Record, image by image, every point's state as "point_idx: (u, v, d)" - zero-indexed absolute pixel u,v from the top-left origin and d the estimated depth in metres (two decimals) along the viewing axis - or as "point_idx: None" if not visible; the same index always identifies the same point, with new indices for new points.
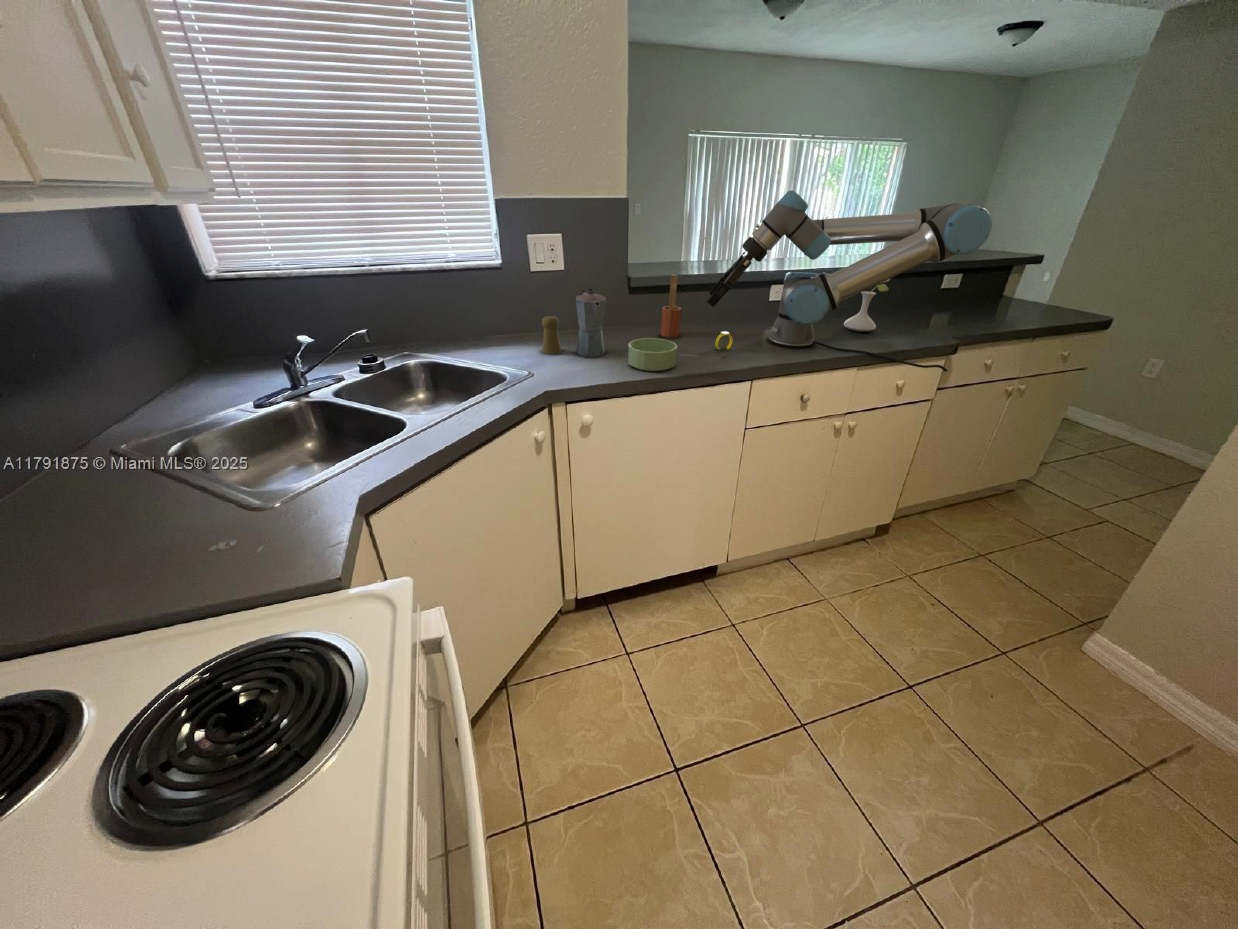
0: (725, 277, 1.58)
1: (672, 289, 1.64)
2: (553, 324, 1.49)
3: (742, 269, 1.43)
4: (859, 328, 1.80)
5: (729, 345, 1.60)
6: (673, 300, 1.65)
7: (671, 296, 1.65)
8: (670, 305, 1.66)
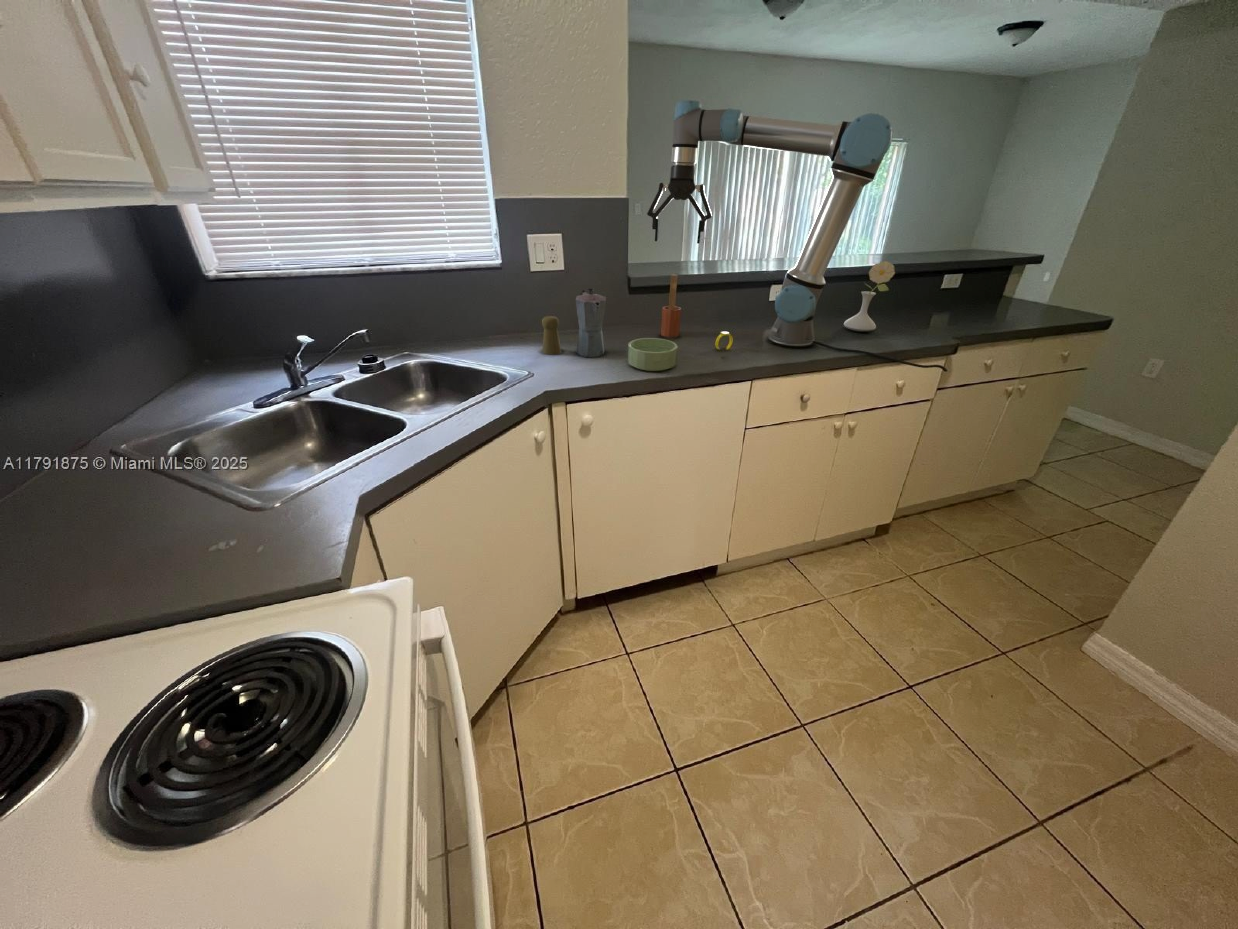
0: None
1: (672, 289, 1.64)
2: (553, 324, 1.49)
3: (657, 193, 1.51)
4: (859, 328, 1.80)
5: (729, 345, 1.60)
6: (673, 300, 1.65)
7: (671, 296, 1.65)
8: (670, 305, 1.66)
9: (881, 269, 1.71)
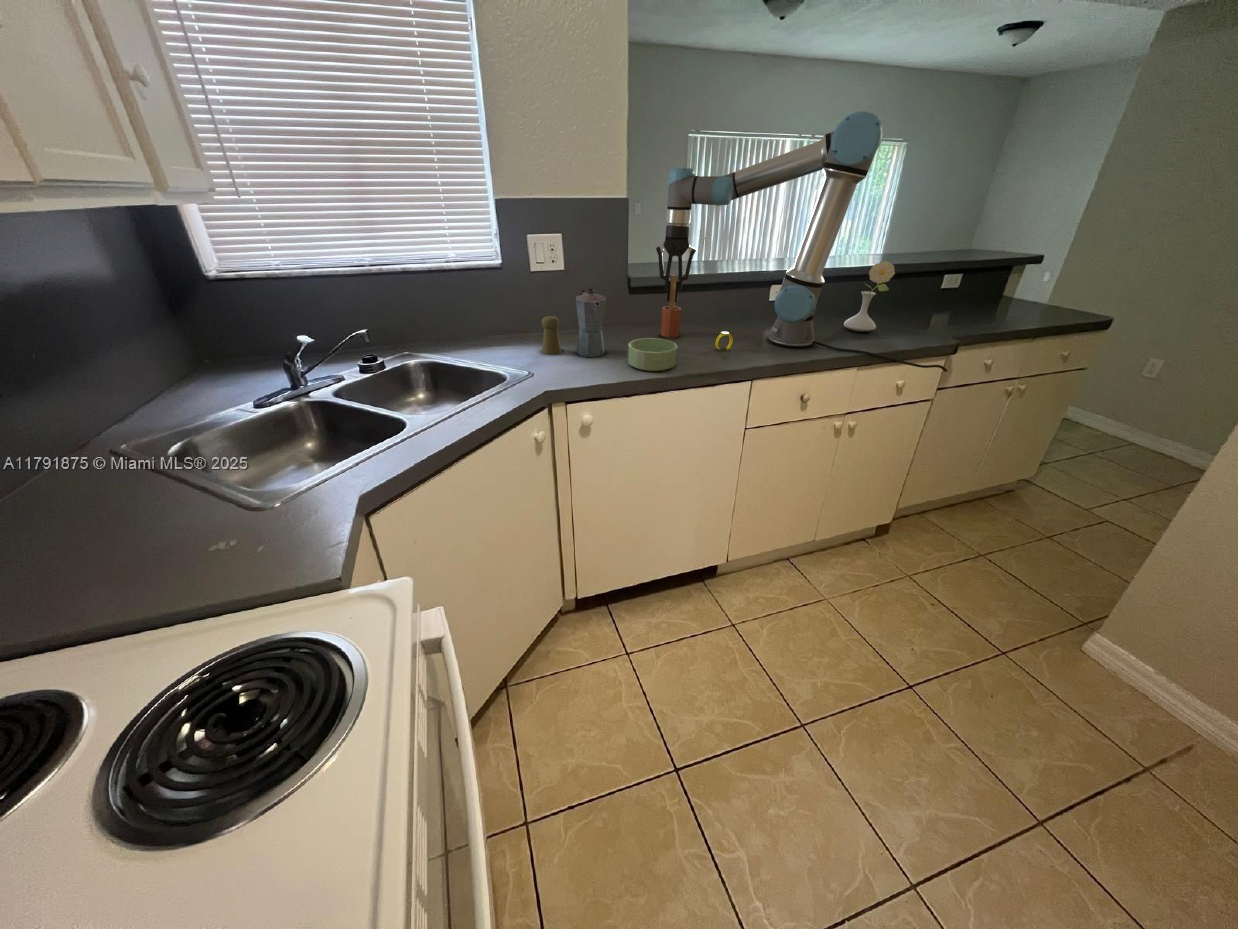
0: None
1: (672, 289, 1.64)
2: (553, 324, 1.49)
3: None
4: (859, 328, 1.80)
5: (729, 345, 1.60)
6: (673, 300, 1.65)
7: (671, 296, 1.65)
8: (670, 305, 1.66)
9: (881, 269, 1.71)
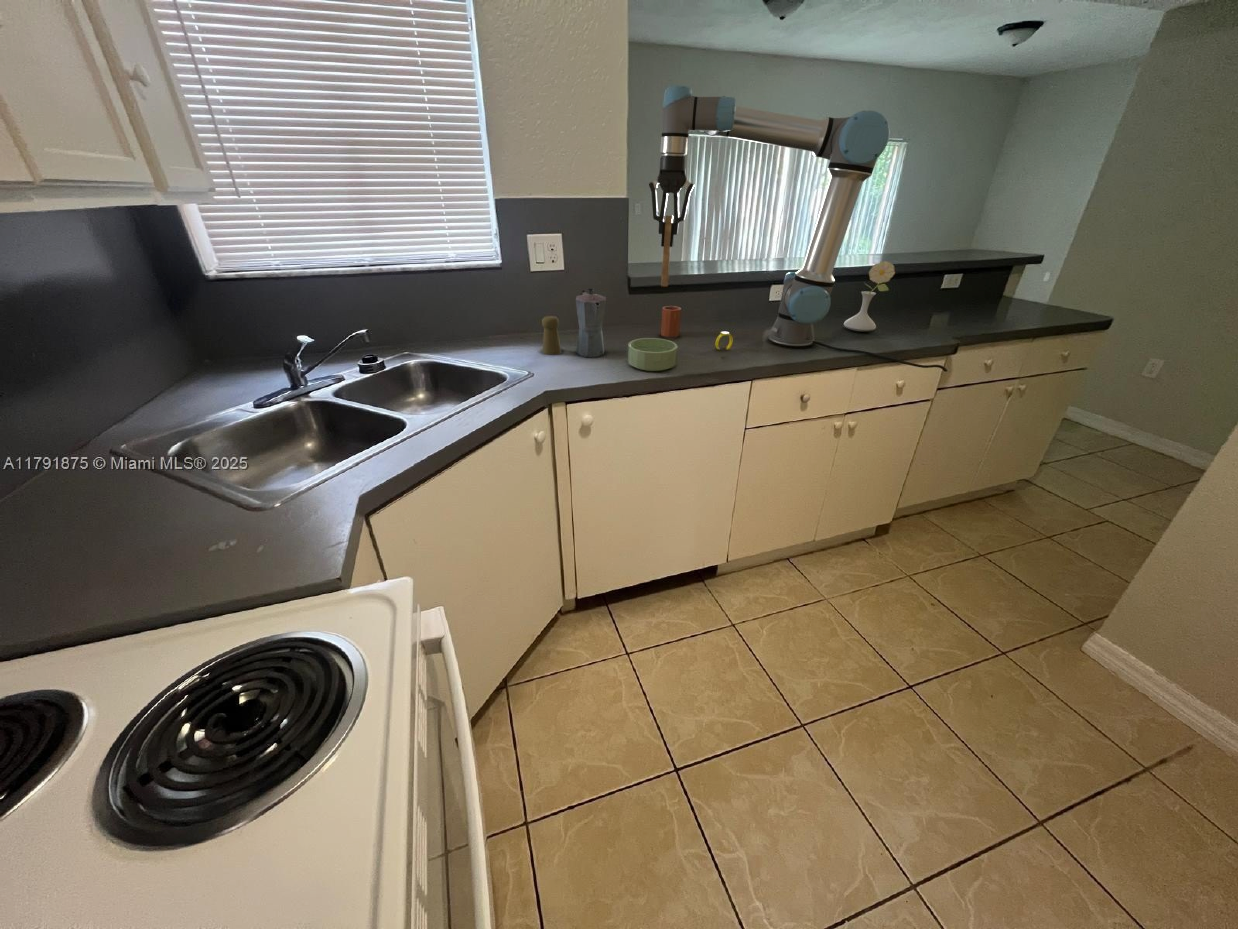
0: None
1: (667, 232, 1.46)
2: (553, 324, 1.49)
3: (652, 194, 1.43)
4: (859, 328, 1.80)
5: (729, 345, 1.60)
6: (668, 245, 1.48)
7: (666, 240, 1.48)
8: (664, 251, 1.49)
9: (881, 269, 1.71)
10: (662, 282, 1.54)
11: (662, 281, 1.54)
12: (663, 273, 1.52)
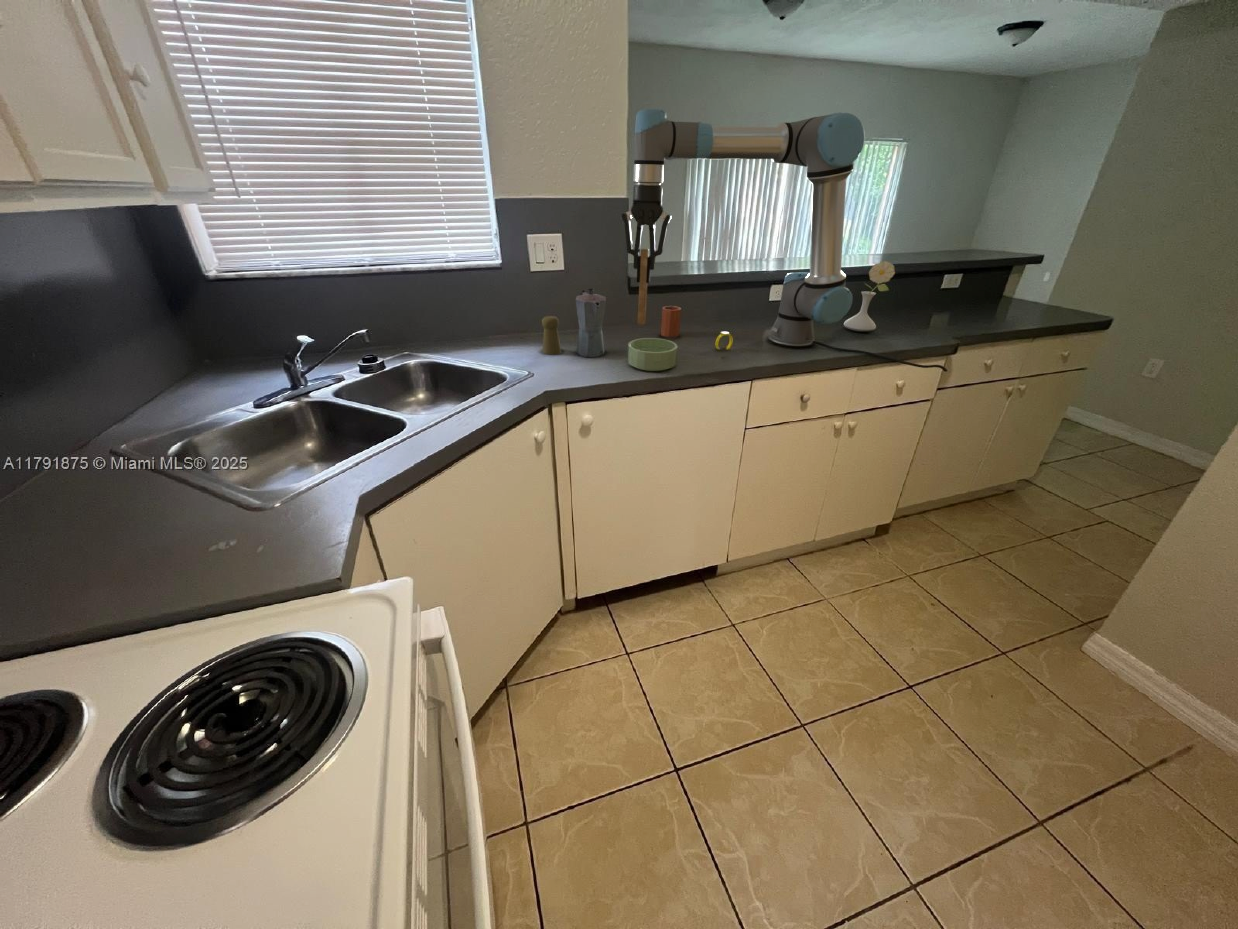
0: None
1: (643, 267, 1.33)
2: (553, 324, 1.49)
3: (625, 226, 1.29)
4: (859, 328, 1.80)
5: (729, 345, 1.60)
6: (644, 281, 1.34)
7: (642, 276, 1.34)
8: (641, 287, 1.35)
9: (881, 269, 1.71)
10: (639, 320, 1.40)
11: (639, 319, 1.40)
12: (640, 310, 1.39)
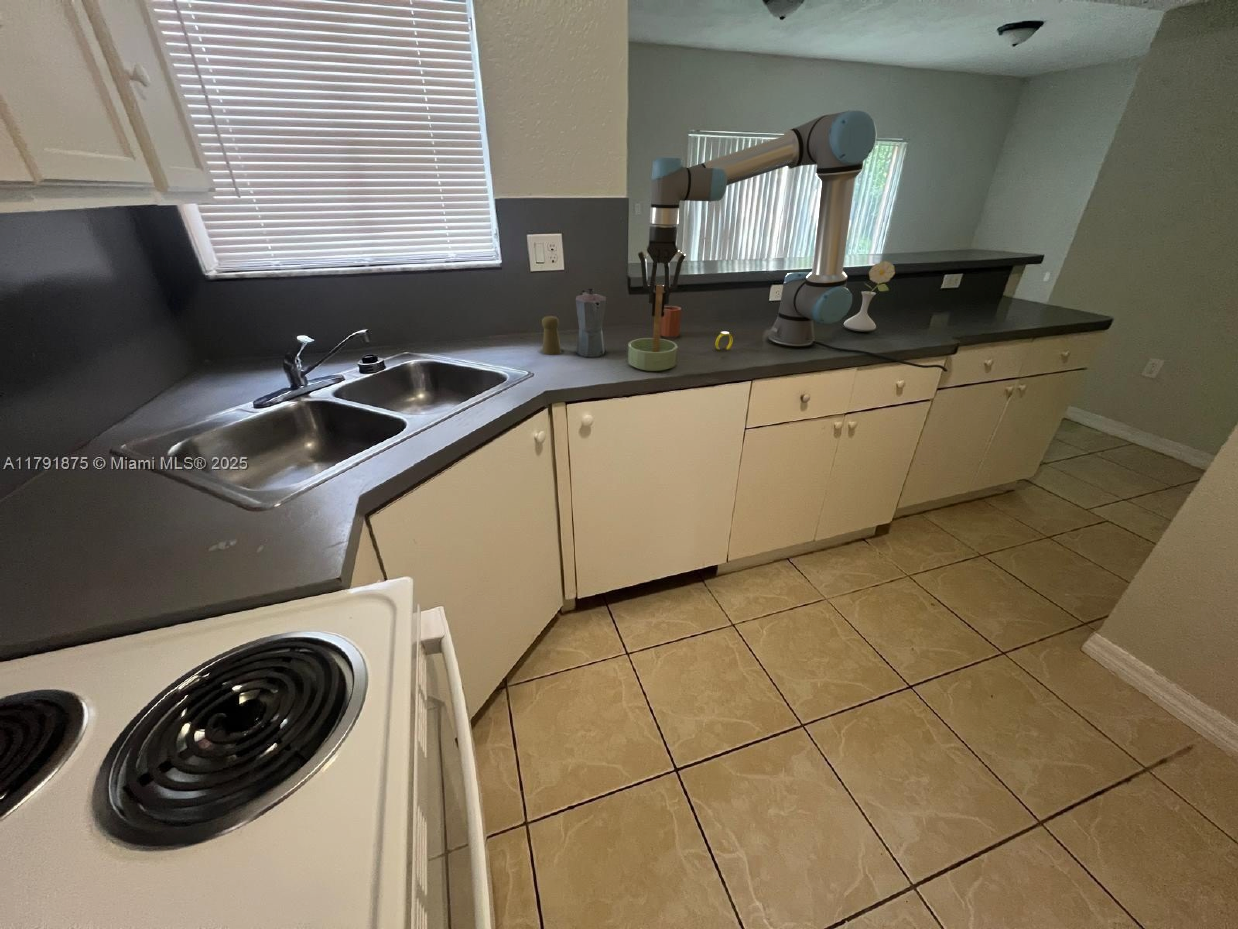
0: None
1: (658, 302, 1.39)
2: (553, 324, 1.49)
3: None
4: (859, 328, 1.80)
5: (729, 345, 1.60)
6: (659, 314, 1.41)
7: (657, 310, 1.40)
8: (655, 320, 1.42)
9: (881, 269, 1.71)
10: (653, 351, 1.46)
11: (653, 350, 1.46)
12: (654, 342, 1.45)
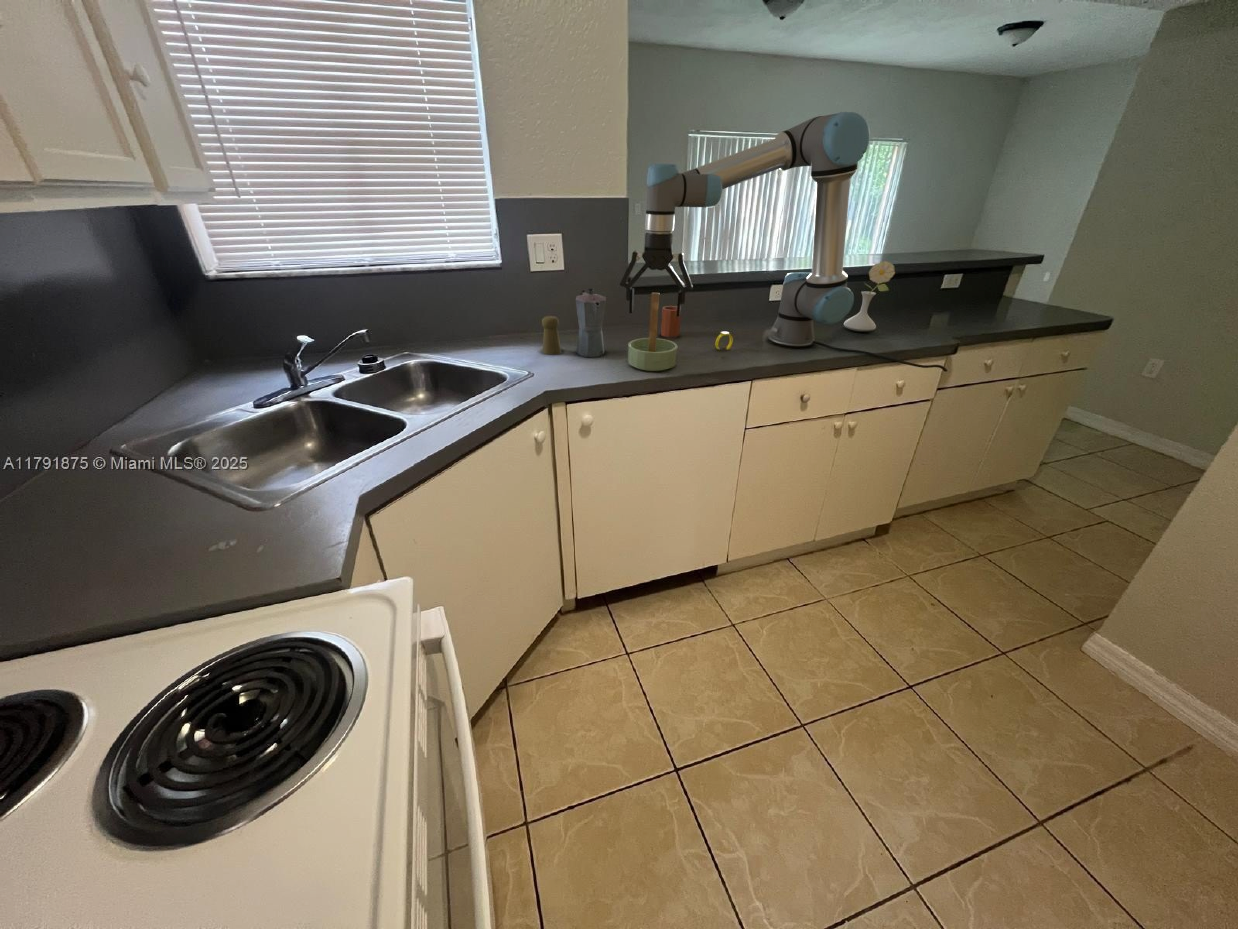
0: None
1: (653, 310, 1.38)
2: (553, 324, 1.49)
3: (630, 262, 1.33)
4: (859, 328, 1.80)
5: (729, 345, 1.60)
6: (654, 322, 1.40)
7: (652, 318, 1.39)
8: (651, 328, 1.41)
9: (881, 269, 1.71)
10: None
11: None
12: (650, 350, 1.44)
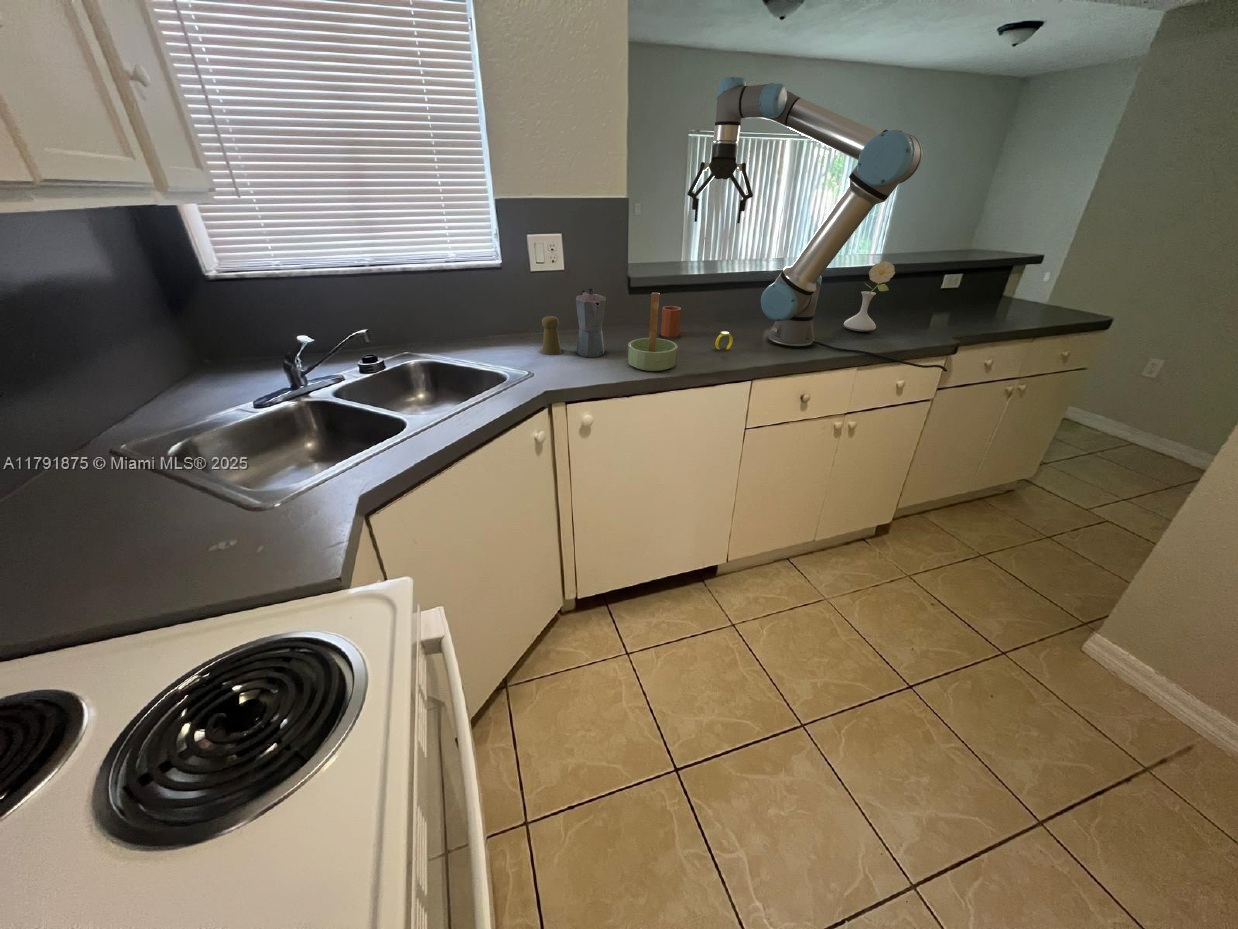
0: None
1: (653, 310, 1.38)
2: (553, 324, 1.49)
3: (698, 172, 1.50)
4: (859, 328, 1.80)
5: (729, 345, 1.60)
6: (654, 322, 1.40)
7: (652, 318, 1.39)
8: (651, 328, 1.41)
9: (881, 269, 1.71)
10: None
11: None
12: (650, 350, 1.44)
